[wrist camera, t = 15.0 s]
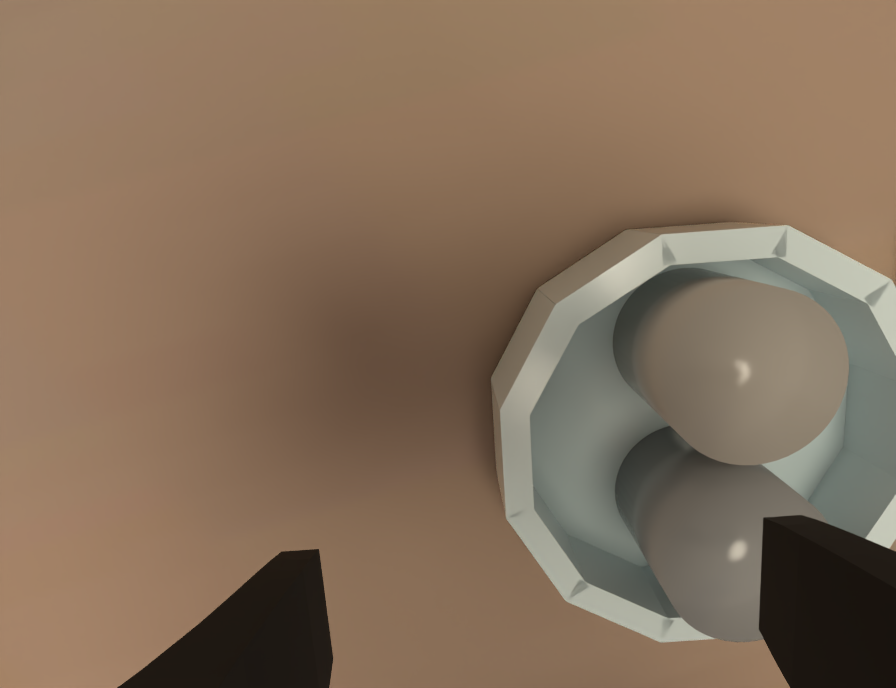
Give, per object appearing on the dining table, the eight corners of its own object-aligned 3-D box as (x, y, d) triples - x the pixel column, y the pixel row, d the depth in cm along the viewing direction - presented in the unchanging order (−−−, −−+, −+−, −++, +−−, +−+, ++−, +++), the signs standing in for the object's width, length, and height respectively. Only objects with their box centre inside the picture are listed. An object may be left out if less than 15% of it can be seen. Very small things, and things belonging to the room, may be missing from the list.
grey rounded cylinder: (753, 401, 20) (844, 457, 15) (614, 412, 20) (664, 472, 15) (756, 261, 19) (854, 279, 14) (610, 273, 19) (662, 294, 14)
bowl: (848, 564, 22) (917, 624, 19) (503, 588, 22) (513, 652, 19) (875, 211, 19) (960, 212, 16) (482, 240, 19) (490, 247, 16)
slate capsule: (746, 544, 21) (830, 636, 16) (614, 552, 21) (663, 647, 16) (751, 419, 20) (842, 481, 15) (614, 428, 20) (665, 492, 15)
